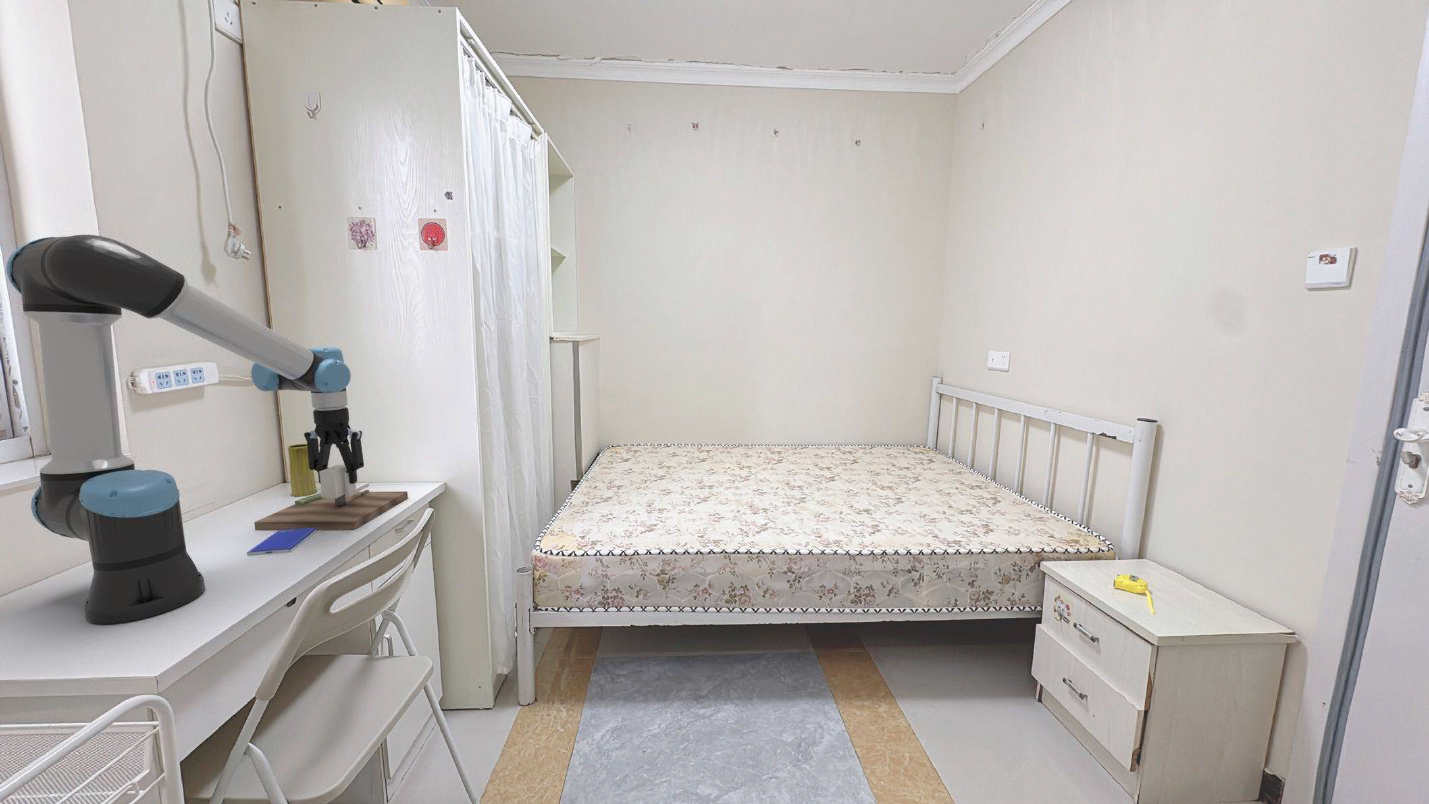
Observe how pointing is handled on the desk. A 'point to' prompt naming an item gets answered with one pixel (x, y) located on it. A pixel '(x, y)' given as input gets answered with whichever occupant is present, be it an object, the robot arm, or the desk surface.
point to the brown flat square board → (332, 512)
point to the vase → (300, 471)
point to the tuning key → (336, 484)
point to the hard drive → (282, 541)
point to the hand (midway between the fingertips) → (339, 495)
